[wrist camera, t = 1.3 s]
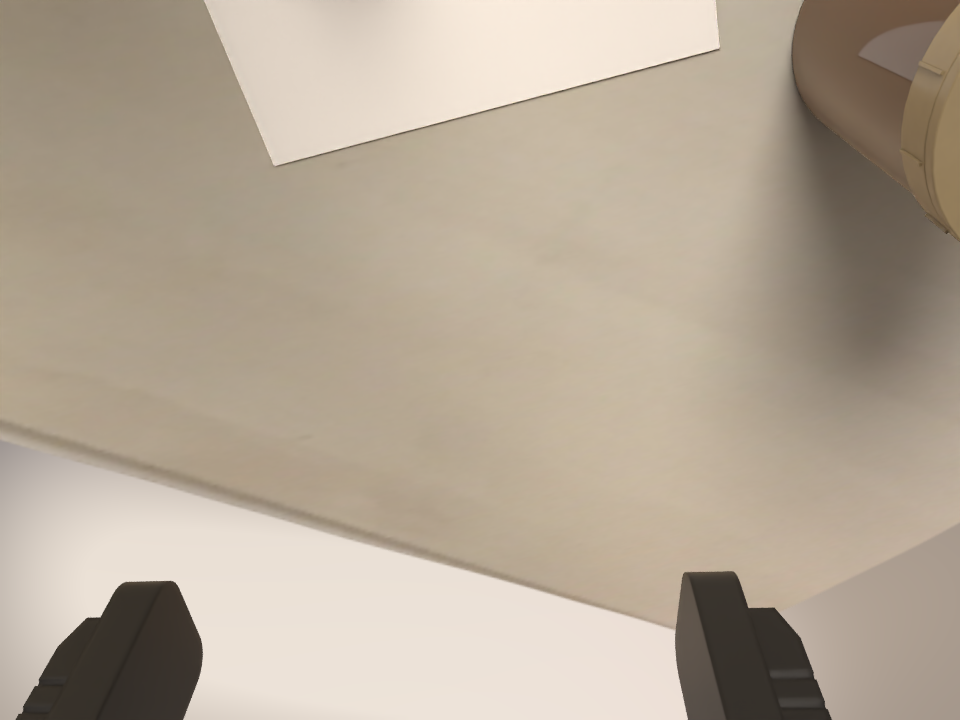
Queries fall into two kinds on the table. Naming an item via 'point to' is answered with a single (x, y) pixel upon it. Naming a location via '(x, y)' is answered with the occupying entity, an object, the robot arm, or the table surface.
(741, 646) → the robot arm
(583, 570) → the table surface
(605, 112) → the table surface
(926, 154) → the jar lid
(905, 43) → the jar
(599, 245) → the table surface
